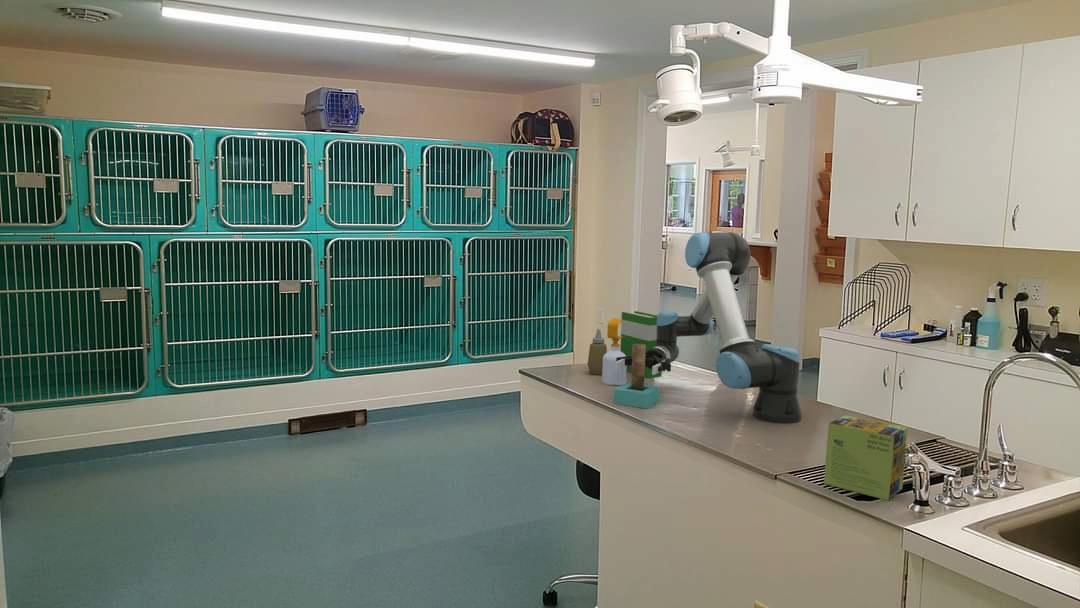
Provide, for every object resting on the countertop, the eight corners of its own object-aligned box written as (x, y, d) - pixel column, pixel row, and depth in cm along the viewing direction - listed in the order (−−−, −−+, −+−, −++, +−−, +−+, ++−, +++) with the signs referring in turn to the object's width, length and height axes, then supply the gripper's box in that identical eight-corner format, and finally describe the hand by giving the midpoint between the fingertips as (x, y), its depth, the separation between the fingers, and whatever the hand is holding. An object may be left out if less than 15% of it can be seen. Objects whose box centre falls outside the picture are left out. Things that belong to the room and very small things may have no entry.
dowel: (645, 401, 256) (647, 344, 254) (640, 404, 252) (642, 346, 250) (633, 400, 258) (635, 343, 256) (628, 402, 255) (630, 345, 252)
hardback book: (619, 369, 307) (621, 312, 304) (633, 368, 311) (636, 311, 308) (646, 378, 292) (649, 318, 289) (661, 376, 296) (664, 316, 292)
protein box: (889, 501, 172) (895, 436, 170) (823, 484, 182) (827, 422, 180) (903, 489, 180) (908, 426, 178) (838, 473, 190) (843, 414, 188)
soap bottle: (629, 382, 284) (632, 318, 281) (619, 387, 277) (621, 321, 274) (609, 379, 289) (611, 316, 286) (597, 383, 282) (599, 319, 278)
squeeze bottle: (607, 372, 302) (608, 328, 300) (607, 376, 294) (608, 331, 292) (587, 371, 303) (588, 327, 300) (586, 375, 295) (588, 330, 292)
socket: (659, 401, 258) (660, 386, 257) (647, 408, 247) (647, 394, 247) (627, 396, 263) (627, 382, 263) (613, 403, 253) (614, 389, 252)
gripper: (689, 372, 264) (669, 384, 245) (624, 364, 276) (600, 374, 257) (690, 351, 263) (670, 361, 244) (625, 344, 275) (601, 353, 256)
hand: (634, 368), depth 251 cm, fingers open, 13 cm apart
